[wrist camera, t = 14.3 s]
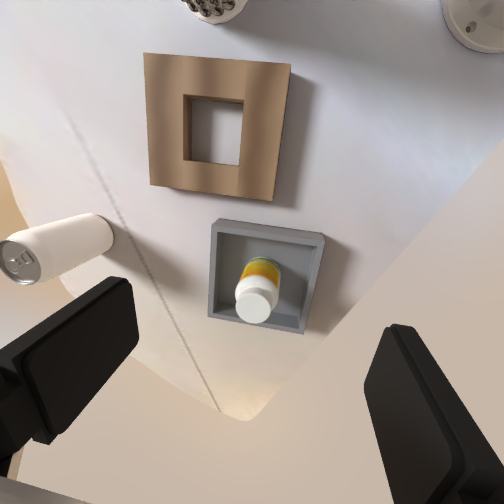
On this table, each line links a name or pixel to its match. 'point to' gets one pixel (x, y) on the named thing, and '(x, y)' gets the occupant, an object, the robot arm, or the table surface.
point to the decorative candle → (215, 9)
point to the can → (54, 248)
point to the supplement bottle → (258, 290)
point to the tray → (275, 248)
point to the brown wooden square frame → (222, 90)
